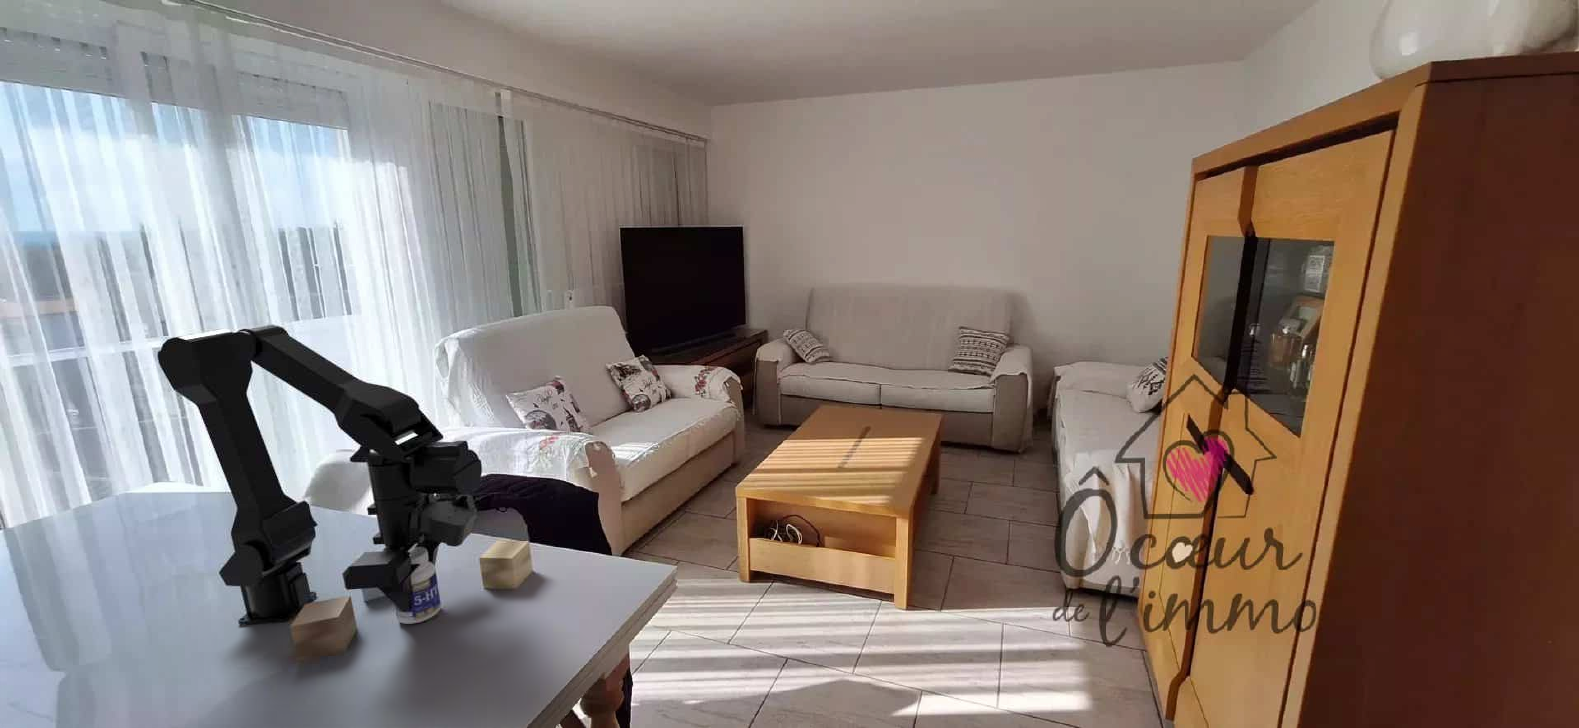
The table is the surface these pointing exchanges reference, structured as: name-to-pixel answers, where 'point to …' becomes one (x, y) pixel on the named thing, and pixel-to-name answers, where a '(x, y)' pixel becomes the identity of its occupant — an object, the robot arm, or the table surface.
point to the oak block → (506, 564)
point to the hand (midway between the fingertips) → (417, 598)
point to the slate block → (371, 591)
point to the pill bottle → (421, 590)
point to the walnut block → (324, 628)
